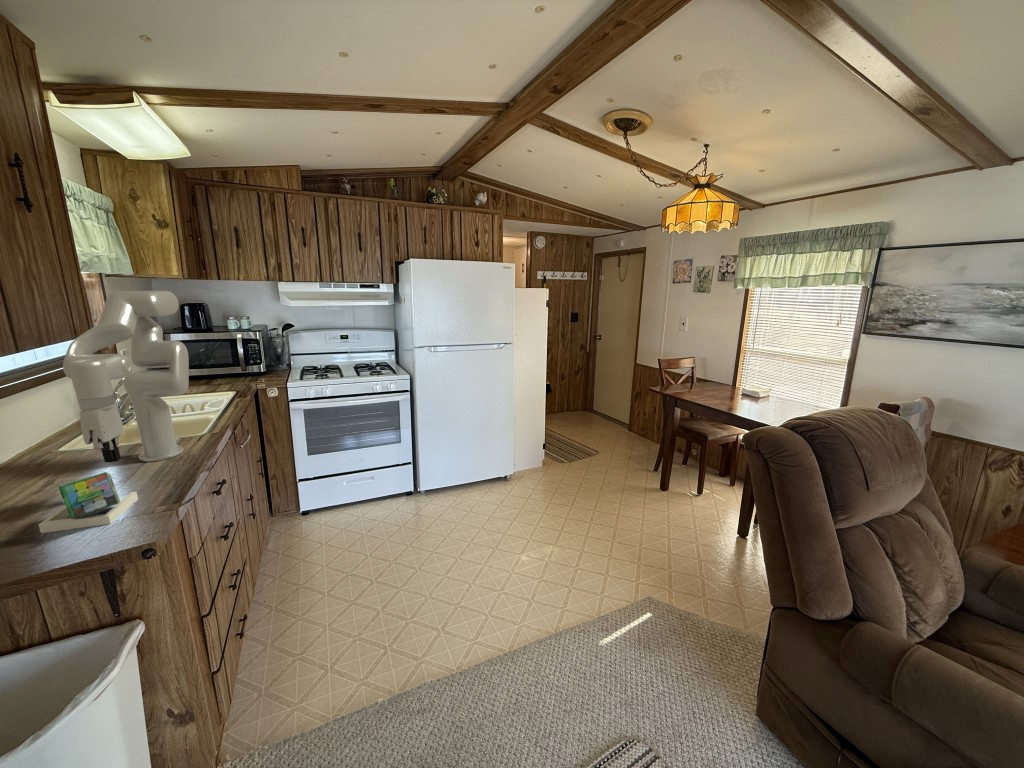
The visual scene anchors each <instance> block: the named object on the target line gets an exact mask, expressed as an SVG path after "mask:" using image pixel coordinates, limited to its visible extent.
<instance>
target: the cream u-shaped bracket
mask: <svg viewBox="0 0 1024 768" xmlns="http://www.w3.org/2000/svg"><path fill="white" fill-rule="evenodd" d="M138 500H139V497H138V493H137V491H131V492H130V493H129V494H127V495H126V496H125V497H124V498H122V500H120V502H119V503H118V504H116V505H113V506H112V508H111V509H110V510H108V511H107V512H105V513H103V514H102V513H101V514H93V515H84V516H82V517H77V518H73V519H71V517H70V516H69V513H68V510H67V507H66V504H65V505H64V506H62V507H61V508H60V509H58V510H57V511H55V512H53V514H51V515H50V516H48V517H47V518H45V519H44V520H43V521H41V522H39V524H38V528H39V531H40V534H46V533H54V532H61V531H67V530H75V528H76V529H82V528H90V527H91V528H92V527H96V526H104V525H110V524H112V523H113V522H114V521H116V520H117V519H118V518H119V517H120V516H121V515H122V514H124V513H125V512H126V511H127V510H128V509H129V508H130V507H131V506H133V505H134V504H135V503H136V502H137V501H138ZM134 502H135V503H134ZM133 503H134V504H133ZM68 517H69V518H68ZM65 518H66V519H65Z"/></svg>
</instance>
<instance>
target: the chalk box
mask: <svg viewBox="0 0 1024 768" xmlns="http://www.w3.org/2000/svg"><path fill="white" fill-rule="evenodd" d="M58 490H59V493H60V495H61V496H60V497H62V499H63V501H64V504H65V505H66V507H67V510H68V513H69V515H70V516H69V518H71V519H73V518H77V517H84V516H88V515H91V514H93V513H96V512H99V511H101V510H105V509H107V508H110V507H114V506H116V505H117V504H118V503H119V502H120V501H121V500H120V497H119V494H118V491H117V488H116V486H115V484H114V481H113V478H112V475H111V474H110V473H108V472H107V471H105V472H101V473H98V474H95V475H92V476H89V477H85V478H82V479H79V480H76V481H75V480H74V481H72V482H69V483H66V484H63V485H61V486H58Z"/></svg>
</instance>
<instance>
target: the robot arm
mask: <svg viewBox="0 0 1024 768" xmlns="http://www.w3.org/2000/svg"><path fill="white" fill-rule="evenodd" d="M179 307H180V306H179V300H178V297H177V296H176V295H175V294H174V292H172V291H169V290H117V291H114V292H111V293H110V294H109V295H108V296H107V297H106V300H105V302H104V305H103V308H102V311H101V314H100V317H99V320H98V323H97V325H95V326H93V327H91V328H90V329H88V330H86V331H85V332H84V333H81V334H80V335H78V336H77V337H76V338H75V339H74V340H73V341H71V342H70V344H69V346H68V348H67V350H66V353H65V355H64V358H63V363H62V364H63V365H62V368H63V372H64V375H65V376H66V377H67V378H69V379H71V383H72V385H73V390H74V392H75V396H76V400H77V404H78V408H79V410H80V411H79V421H80V427H81V433H82V438H83V442H84V444H85V445H91V444H92V447H93V449H94V450H98V449H99V451H101V454H102V457H103V461H104V463H114V462H115V463H116V462H119V460H121V459H122V457H121V453H120V448H119V444H120V443H119V438H120V437H121V435H122V433H123V432H124V424H123V420H122V417H121V414H120V412H119V411H120V410H119V409H118V407H117V401H116V398H115V393H114V389H113V385H112V382H111V381H113V380H117V379H121V378H124V380H123V386H124V390H125V392H126V393H127V396H128V399H129V400H130V402H131V405H132V408H133V412H134V416H135V420H136V425H137V429H138V432H139V438H140V443H141V447H142V450H143V451H142V453H140V454H139V455H138V459H139V461H141V462H145V463H146V462H157V461H163V460H167V459H171V458H173V457H176V456H178V455H180V454H182V453H183V452H184V447H183V446H181V445H178V444H177V442H178V441H179V440H180V436H177V435H175V434H176V433H175V429H174V424H173V419H172V415H171V409H170V406H169V404H168V403H167V402H166V401H165V400H164V399H163V398H164V397H171V396H173V397H174V396H175V397H176V396H180V395H185V394H186V393H187V392H188V390H189V383H190V381H189V380H190V379H189V377H190V376H189V375H190V374H189V373H190V372H189V371H190V368H189V367H190V365H189V364H190V362H189V360H190V359H189V358H190V357H189V350H188V349H187V346H186V345H185V344H184V343H183V342H182V341H179V340H164V338H163V337H164V336H163V335H164V334H163V333H164V331H163V328H162V326H160V325H159V323H157V322H156V321H155V320H154V319H153V318H151V317H166V316H172V315H175V314H176V313H177V312H178V310H179ZM129 339H130V340H131V342H130V343H131V344H130V358H131V359H129V357H127V356H126V355H123V354H121V353H98V354H97V353H96V352H98V351H99V350H100V351H101V350H102V349H104V348H108V347H110V346H113V345H116V344H120V343H122V342H125V341H127V340H129ZM95 353H96V354H95ZM132 365H134V366H135V367H137V368H140V369H149V370H139V371H138V370H137V371H133V372H131V370H132ZM153 368H155V369H153ZM156 368H169V369H156ZM150 369H153V370H150ZM162 397H163V398H162Z"/></svg>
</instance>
